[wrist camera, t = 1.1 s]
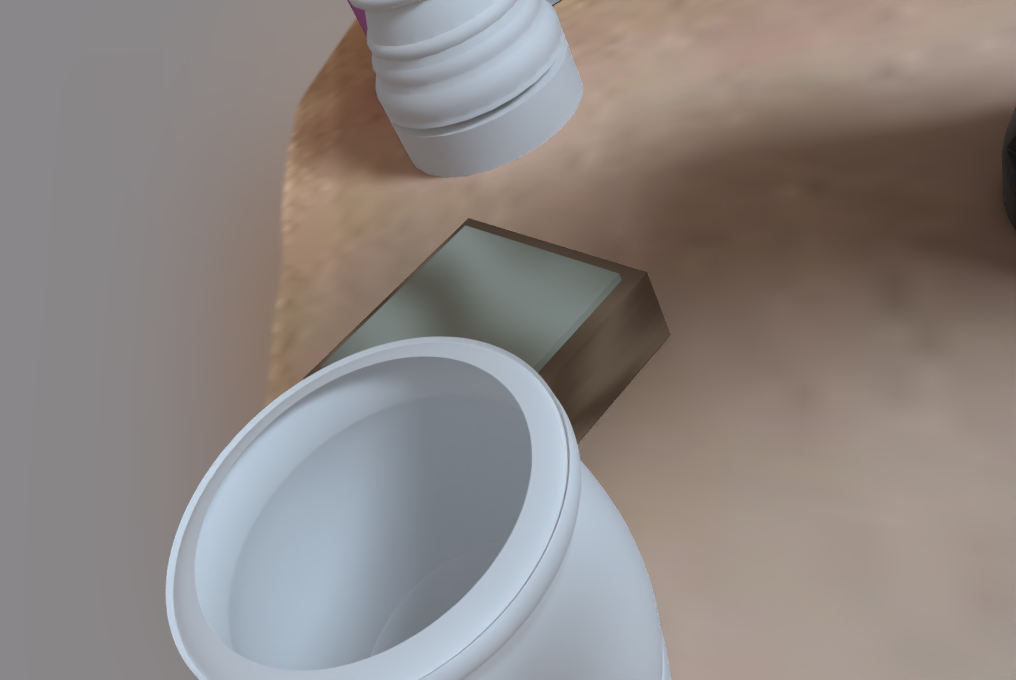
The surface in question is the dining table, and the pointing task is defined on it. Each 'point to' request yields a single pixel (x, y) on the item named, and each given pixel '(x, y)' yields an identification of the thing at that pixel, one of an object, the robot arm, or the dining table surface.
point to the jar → (411, 534)
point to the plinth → (527, 313)
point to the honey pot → (471, 79)
